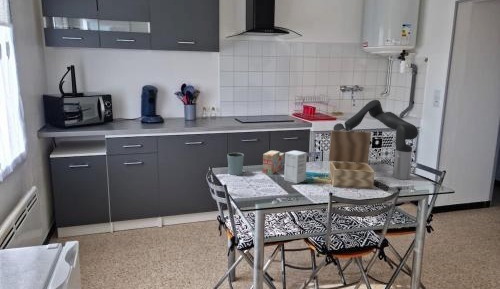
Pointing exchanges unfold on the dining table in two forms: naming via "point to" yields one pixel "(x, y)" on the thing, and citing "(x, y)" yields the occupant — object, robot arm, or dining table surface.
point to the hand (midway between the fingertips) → (348, 141)
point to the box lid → (349, 146)
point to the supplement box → (295, 166)
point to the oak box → (351, 175)
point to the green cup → (235, 163)
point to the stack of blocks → (273, 161)
